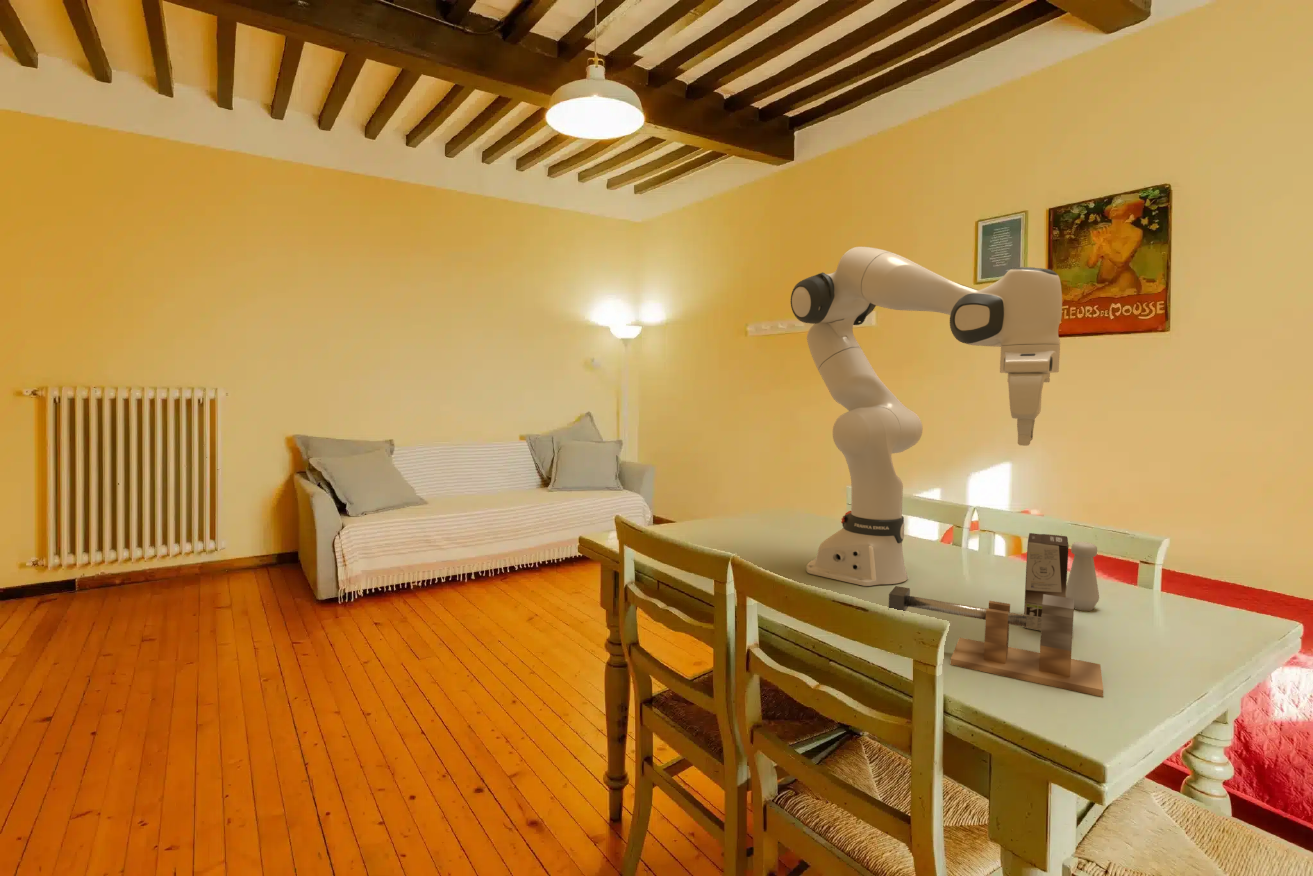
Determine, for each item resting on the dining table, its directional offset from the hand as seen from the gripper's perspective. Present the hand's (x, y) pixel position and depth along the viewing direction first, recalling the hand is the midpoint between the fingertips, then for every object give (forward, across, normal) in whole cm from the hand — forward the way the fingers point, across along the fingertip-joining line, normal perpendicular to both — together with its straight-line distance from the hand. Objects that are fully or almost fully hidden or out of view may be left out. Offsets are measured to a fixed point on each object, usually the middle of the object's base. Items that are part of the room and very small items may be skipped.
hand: (1025, 442), depth 113 cm
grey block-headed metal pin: (+28, +15, -8) cm, 33 cm away
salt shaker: (+34, -22, +10) cm, 42 cm away
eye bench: (+34, +15, +2) cm, 37 cm away
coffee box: (+34, -8, +4) cm, 35 cm away
